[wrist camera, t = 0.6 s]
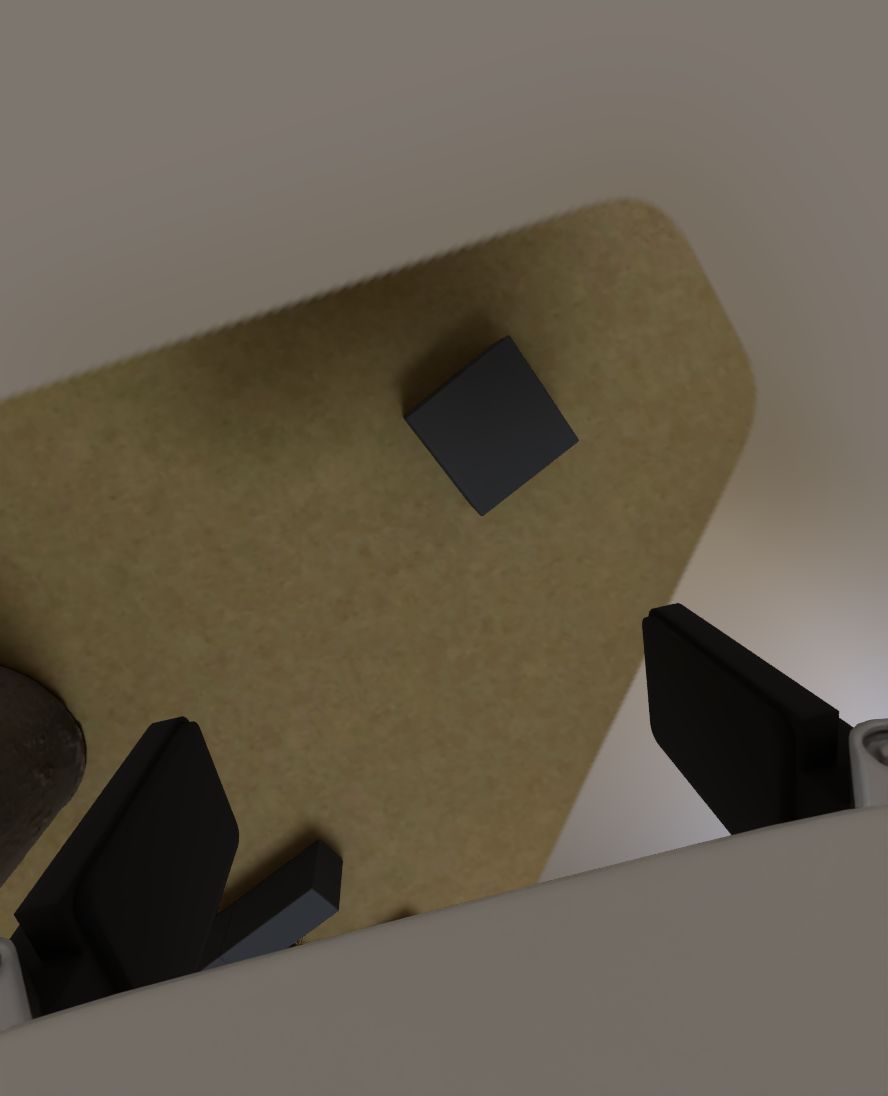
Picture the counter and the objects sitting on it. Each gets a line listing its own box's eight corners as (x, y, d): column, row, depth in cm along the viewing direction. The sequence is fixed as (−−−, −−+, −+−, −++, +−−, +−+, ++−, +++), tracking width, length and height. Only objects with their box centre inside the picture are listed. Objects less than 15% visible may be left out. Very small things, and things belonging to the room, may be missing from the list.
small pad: (492, 344, 22) (509, 334, 19) (555, 436, 24) (579, 440, 21) (402, 416, 23) (405, 417, 20) (469, 504, 24) (481, 517, 21)
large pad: (319, 838, 28) (312, 888, 25) (432, 937, 31) (437, 992, 28) (127, 981, 29) (99, 1045, 26) (253, 1064, 32) (241, 1130, 29)
